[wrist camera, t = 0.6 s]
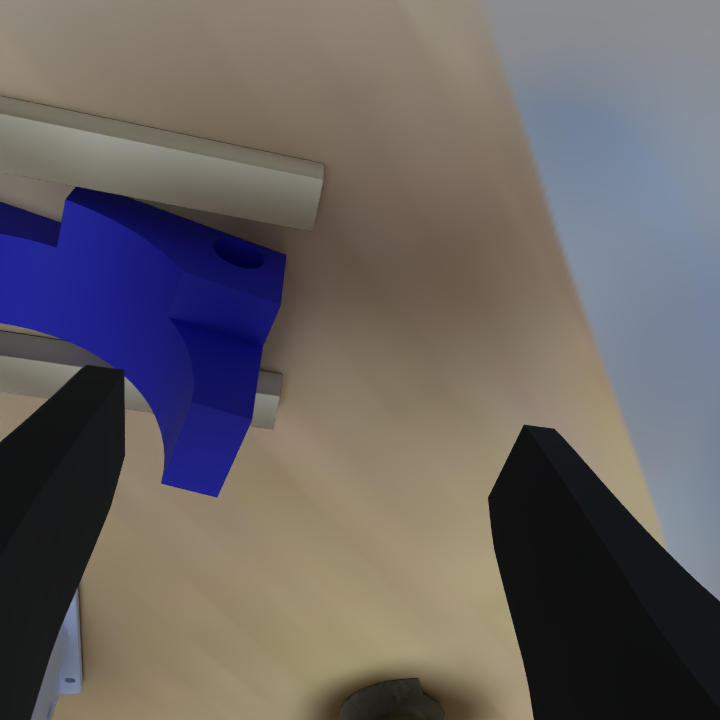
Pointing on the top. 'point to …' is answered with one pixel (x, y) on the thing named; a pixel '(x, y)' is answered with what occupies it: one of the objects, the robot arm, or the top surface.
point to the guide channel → (149, 182)
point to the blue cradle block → (152, 314)
